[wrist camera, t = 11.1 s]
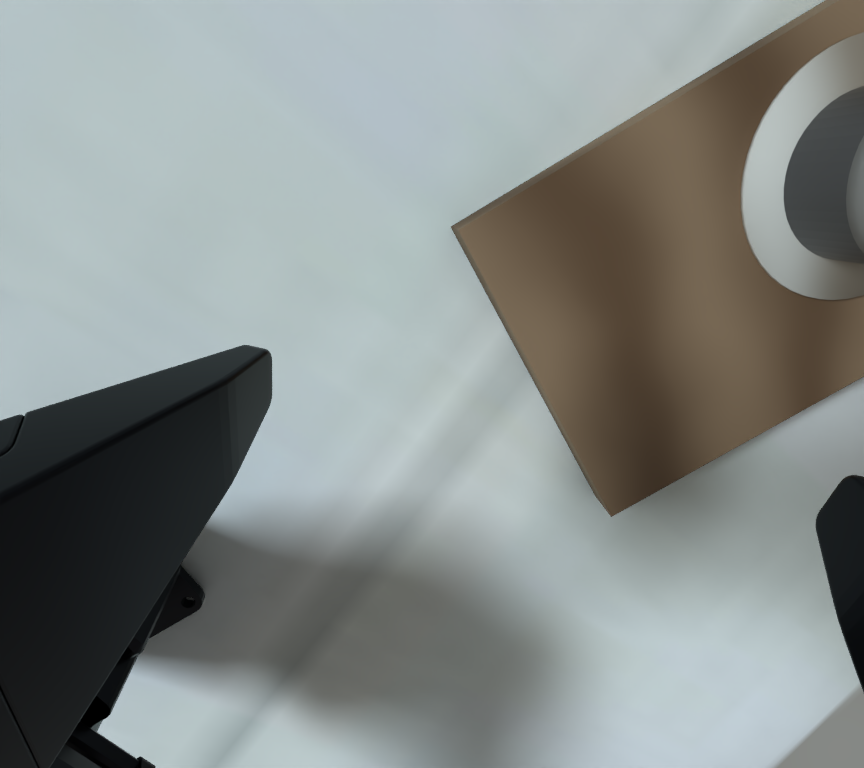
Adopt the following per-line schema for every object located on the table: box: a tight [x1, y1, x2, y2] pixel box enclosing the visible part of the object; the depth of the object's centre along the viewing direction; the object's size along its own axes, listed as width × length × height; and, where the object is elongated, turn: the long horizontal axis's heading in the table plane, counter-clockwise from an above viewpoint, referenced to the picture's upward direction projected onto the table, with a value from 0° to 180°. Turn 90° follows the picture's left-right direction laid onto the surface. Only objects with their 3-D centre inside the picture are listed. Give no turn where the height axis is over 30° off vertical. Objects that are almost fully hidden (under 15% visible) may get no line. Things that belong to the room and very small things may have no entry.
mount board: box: [451, 0, 864, 517], centre depth 19 cm, size 18×12×2 cm, turn 120°
